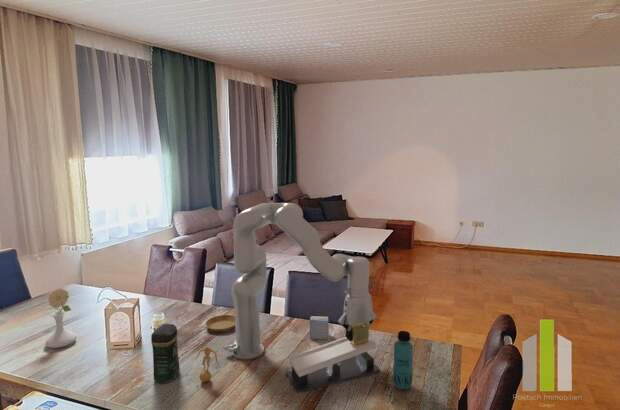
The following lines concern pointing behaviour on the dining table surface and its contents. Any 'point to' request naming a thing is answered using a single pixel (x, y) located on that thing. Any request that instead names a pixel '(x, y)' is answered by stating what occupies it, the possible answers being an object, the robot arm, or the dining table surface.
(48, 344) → the flower in vase
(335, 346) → the beam
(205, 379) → the figurine
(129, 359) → the dining table surface
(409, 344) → the beverage bottle
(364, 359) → the seesaw stand
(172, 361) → the coffee jar
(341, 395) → the dining table surface
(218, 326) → the plant saucer
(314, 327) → the medicine box
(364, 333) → the block
